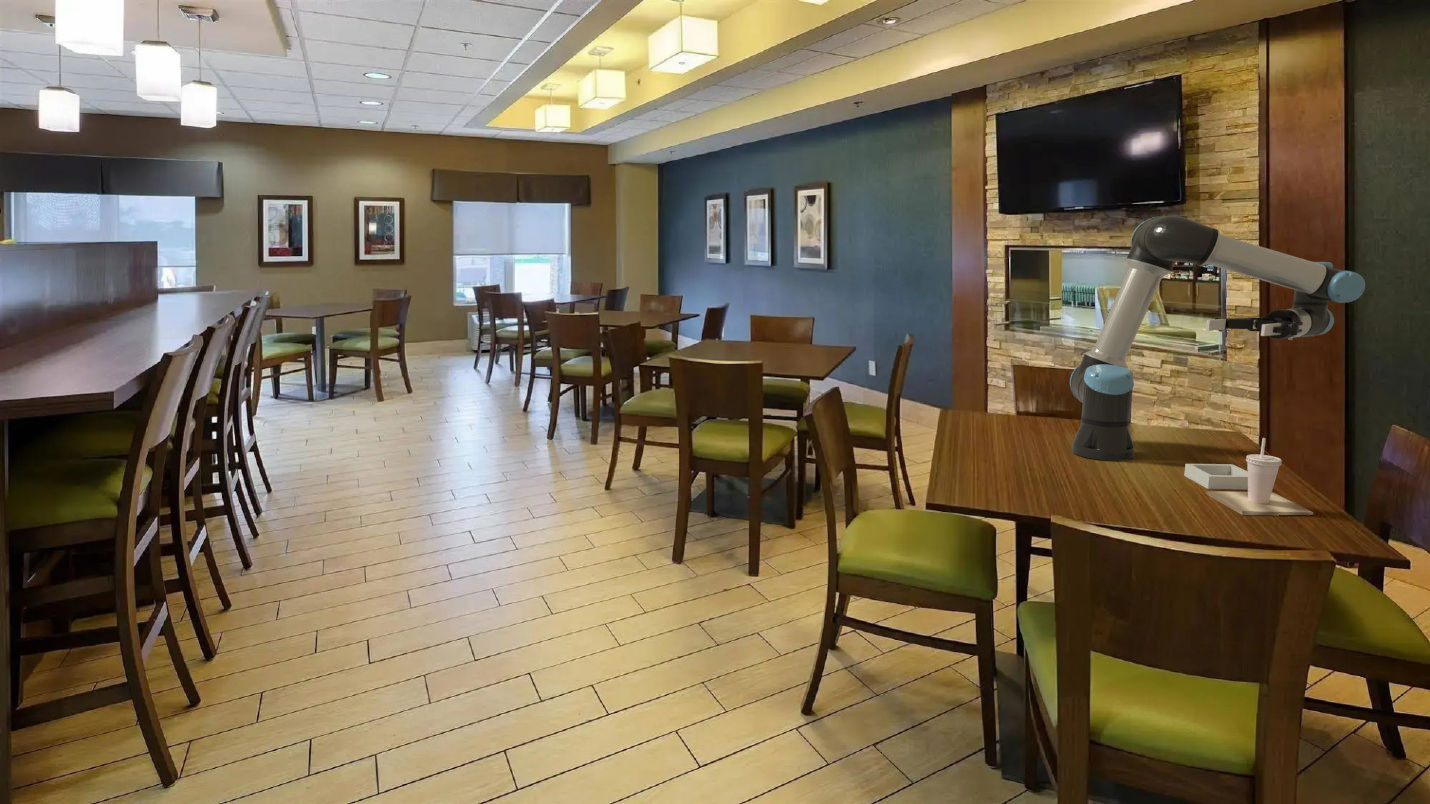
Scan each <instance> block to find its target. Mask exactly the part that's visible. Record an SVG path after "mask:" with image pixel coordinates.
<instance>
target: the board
mask: <svg viewBox="0 0 1430 804" xmlns="http://www.w3.org/2000/svg"><path fill="white" fill-rule="evenodd" d="M1206 495H1207V496H1209V497H1211V498H1212V499H1214V500H1215V501H1217V502H1219V503H1220V504H1222V505H1224V506H1225V507H1227V508H1229V509H1231V510H1233V511H1235V512H1236V513H1238V514H1240V515H1242V516H1279V515H1313V516H1314V512H1313V511H1311V510H1309V509H1307V508H1305V507H1303V506H1301V505H1299V504H1297V503H1295V502H1293V501H1292V500H1289V499H1287V498H1285V497H1283V496H1281V495H1279V494H1277V493H1275V492H1273V491H1272V493H1271V496H1270V500H1269V503H1268V504H1258V503H1253V502H1250V501H1248V491H1222V490H1220V491H1218V490H1217V491H1216V490H1214V491H1213V490H1211V491H1210V490H1209V491H1208V490H1207V492H1206Z"/></svg>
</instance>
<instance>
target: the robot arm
mask: <svg viewBox="0 0 1430 804" xmlns="http://www.w3.org/2000/svg"><path fill="white" fill-rule="evenodd" d="M1130 247H1131V248H1130V250H1129V251H1128V255H1127V256H1126V258H1125V259H1126V263H1127V265H1128V270H1127V272H1126V274H1125V276H1124V278H1123V281H1122V282H1121V285H1120V288H1119V290H1118V292H1117V294H1116V297H1115V299H1114V301H1113V303H1112V306H1111V308H1110V310H1109V313H1108V315H1107V317H1106V320H1105V321H1104V324H1103V326H1102V328H1101V330H1100V333H1099V335H1098V338H1097V340H1096V341H1095V345H1094V346H1093V349H1091V350H1088V351H1087V352H1085V353H1084V355H1083V357H1082V360H1081V362H1080V364H1079V365H1077V367H1076V368H1074V370H1073V371H1072V373H1071V375H1070V378H1069V386H1070V389H1071V393H1072V394H1073V396H1074V397H1075V398H1076V399H1077V401H1079V402H1080V403H1082V405H1081V406H1082V407H1081V420H1080V425H1079V428H1078V430H1077V432H1076V434H1075V436H1074V439H1073V441H1072V444H1071V452H1072V453H1073V454H1074V455H1076V456H1080V457H1083V458H1086V459H1087V458H1088V459H1093V460H1100V461H1116V462H1117V461H1128V460H1130V459H1131V460H1132V459H1133V458H1134V456H1135V447H1134V446H1135V445H1134V443H1133V442H1134V441H1133V438H1132V435H1131V434H1132V433H1131V431H1130V419H1131V408H1132V400H1133V390H1134V389H1133V388H1134V386H1135V384H1134V383H1135V381H1134V374H1133V371H1131V370H1130V369H1129V366H1128V364H1127V362H1126V358H1127V356H1128V354H1129V352H1130V349H1131V347H1132V345H1133V344H1134V343H1133V342H1134V341H1135V339H1136V336H1137V334H1138V332H1139V329H1140V327H1141V325H1142V323H1143V321H1144V318H1145V316H1146V314H1147V312H1148V310H1149V307H1150V306H1151V303H1152V300H1153V298H1154V297H1155V293H1156V292H1157V290H1158V288H1159V285H1160V282H1162V281H1161V280H1162V279H1163V278H1164V277H1165V276H1167V275H1170V274H1171V273H1172V271H1173V269H1174V267H1175V264H1176V263H1187V264H1191V265H1195V266H1199V267H1202V266H1204V265H1210V266H1213V267H1216V268H1220V269H1222V270H1225V271H1230V272H1233V273H1236V274H1240V275H1243V276H1247V277H1249V278H1253V279H1257V280H1260V281H1264V282H1267V283H1270V284H1272V285H1273V284H1274V285H1277V286H1280V287H1284V288H1288V289H1291V290H1294V293H1293V294H1294V295H1293V302H1292V307H1291V308H1285V309H1274V310H1272V311H1270V312H1269V313H1267V314H1266V315H1265V316H1261V317H1246V318H1245V317H1239V318H1238V317H1233V318H1232V317H1231V318H1230V317H1229V318H1227V317H1226V318H1224V317H1220V318H1219V317H1215V318H1214V319H1206V325H1205V332H1206V331H1207V332H1211V331H1212V332H1214V331H1218V332H1221V333H1222V332H1223V330H1226V329H1227V330H1248V331H1249V332H1259V333H1260V336H1261V337H1267V336H1268V337H1269V338H1271V339H1274V340H1283V339H1284V340H1285V339H1288V340H1289V341H1293V338H1305V337H1316V336H1321V335H1323V334H1326V333H1328V332H1329V331H1330V330H1331V329H1332V327H1333V325H1334V324H1335V318H1334V315H1333V313H1332V312H1331V311H1330V310H1329V309H1328V308H1329V302H1335V303H1339V304H1342V303H1343V304H1344V303H1351V302H1353V301H1356V300H1357V299H1359V298H1360V297H1361V296H1362V295H1363V294H1364V291H1365V288H1366V281H1365V279H1364V278H1363V276H1362V275H1360V274H1359V273H1357V272H1354V271H1351V270H1341V269H1338V268H1335V267H1334V264H1333V263H1332V262H1330V261H1329V262H1328V261H1327V262H1326V261H1311V260H1307V259H1304V258H1301V257H1297V256H1294V255H1291V254H1288V253H1287V254H1286V253H1283V252H1282V251H1281V252H1280V251H1276V250H1275V249H1270V248H1267V247H1263V246H1259V245H1257V244H1253V243H1250V242H1246V241H1243V240H1239V239H1236V238H1233V237H1229V236H1227V235H1226V236H1225V235H1223V234H1221V232H1220V230H1219V229H1218V228H1215V227H1211V226H1208V225H1206V224H1202V223H1200V222H1197V221H1194V220H1192V219H1190V218H1188V217H1184V216H1181V215H1165V216H1163V215H1162V216H1161V215H1158V216H1154V217H1151V218H1148V219H1146V220H1145V221H1142V223H1140V224H1139V225H1137V227H1136V228H1135V229H1134V231H1133V233H1132V235H1131V239H1130Z"/></svg>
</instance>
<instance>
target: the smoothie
mask: <svg viewBox="0 0 1430 804" xmlns="http://www.w3.org/2000/svg"><path fill="white" fill-rule="evenodd" d="M1265 447H1266V438H1265V437H1262V441H1261V447H1260V448H1261V449H1260V450H1261V451H1260V454H1257V453H1254V454H1247V455H1246V457H1245V461H1246V462H1247V471H1248V490H1247V492H1248V501H1250V502H1253V503H1258V504H1268V503H1269V500H1270V496H1271V493H1272V492H1273V489H1274V486H1275V481H1276V479H1277V475H1278V473H1279V468H1280V466H1282V462H1283V460H1282V459H1281V458H1279V457H1276V456H1273V455H1267V454H1265Z"/></svg>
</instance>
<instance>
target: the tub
mask: <svg viewBox="0 0 1430 804" xmlns="http://www.w3.org/2000/svg"><path fill="white" fill-rule="evenodd" d="M1183 476H1184V477H1186V478H1187V479H1189V480H1191V481H1193V482H1194V483H1196V484H1197V485H1200V486H1202V487H1203V488H1205V489H1208V490H1243V491H1244V490H1245V491H1246V490H1247V491H1248V470H1245V469H1243V468H1241V467H1239V466H1237V465H1235V464H1233V463H1230V464H1229V463H1227V464H1225V463H1224V464H1223V463H1221V464H1220V463H1219V464H1218V463H1217V464H1216V463H1185V467H1184V474H1183Z"/></svg>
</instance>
